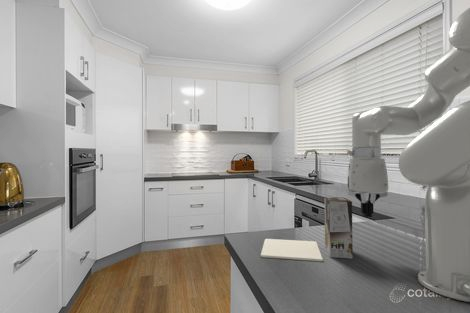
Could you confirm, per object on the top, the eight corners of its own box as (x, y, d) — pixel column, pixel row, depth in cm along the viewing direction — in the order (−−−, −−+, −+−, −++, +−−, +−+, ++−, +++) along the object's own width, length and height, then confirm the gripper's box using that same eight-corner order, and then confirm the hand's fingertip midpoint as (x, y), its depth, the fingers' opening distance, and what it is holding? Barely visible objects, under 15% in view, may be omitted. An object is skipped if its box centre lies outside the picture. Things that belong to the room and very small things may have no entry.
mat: (322, 261, 69) (322, 259, 69) (260, 257, 72) (260, 255, 72) (316, 243, 84) (316, 241, 84) (265, 240, 88) (265, 238, 88)
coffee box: (353, 259, 70) (352, 201, 71) (329, 257, 72) (328, 200, 72) (346, 248, 79) (345, 197, 80) (324, 247, 81) (324, 196, 81)
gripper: (342, 153, 73) (342, 217, 72) (399, 153, 70) (400, 220, 69) (337, 154, 80) (337, 212, 80) (389, 154, 77) (390, 214, 76)
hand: (367, 216), depth 74 cm, fingers closed
